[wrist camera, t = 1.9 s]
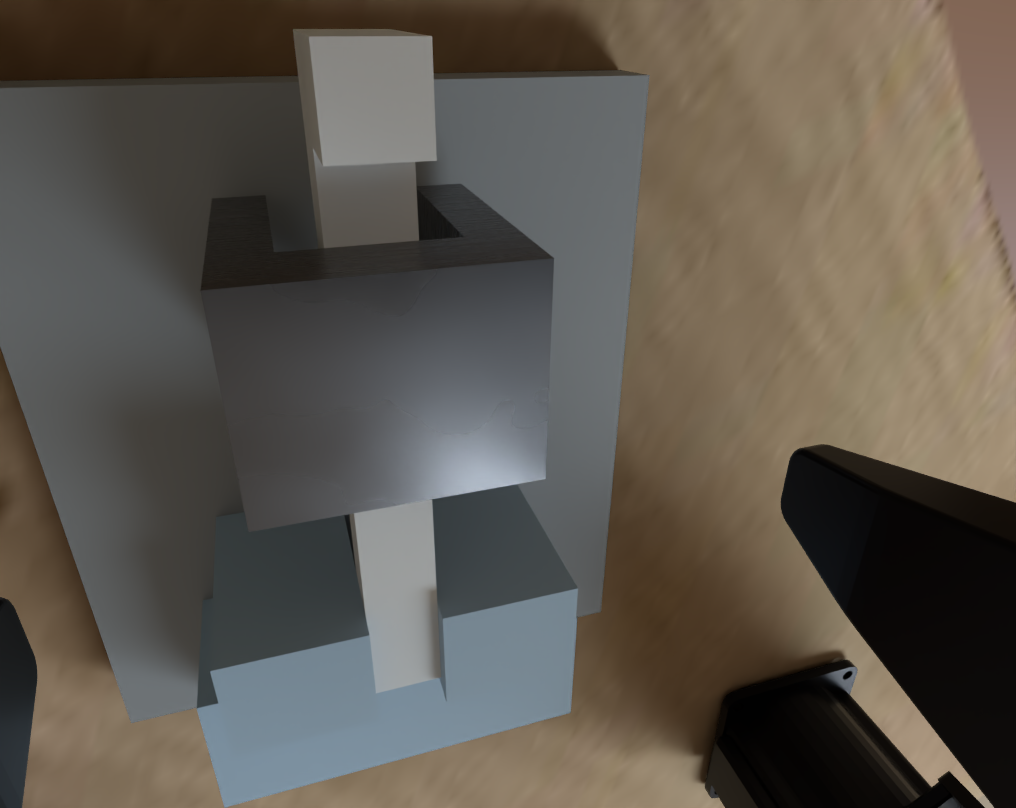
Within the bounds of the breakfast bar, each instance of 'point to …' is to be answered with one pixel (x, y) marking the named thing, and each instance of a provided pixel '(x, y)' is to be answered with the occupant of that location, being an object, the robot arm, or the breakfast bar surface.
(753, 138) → the breakfast bar surface
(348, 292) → the dark grey block
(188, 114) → the vise
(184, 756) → the breakfast bar surface
